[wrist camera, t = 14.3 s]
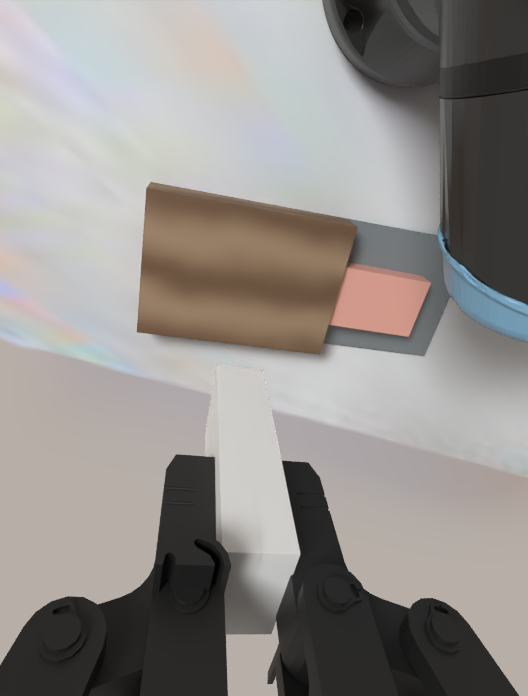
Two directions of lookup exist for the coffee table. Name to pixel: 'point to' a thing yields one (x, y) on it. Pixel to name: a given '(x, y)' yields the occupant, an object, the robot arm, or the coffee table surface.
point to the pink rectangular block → (379, 300)
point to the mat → (404, 256)
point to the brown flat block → (239, 270)
